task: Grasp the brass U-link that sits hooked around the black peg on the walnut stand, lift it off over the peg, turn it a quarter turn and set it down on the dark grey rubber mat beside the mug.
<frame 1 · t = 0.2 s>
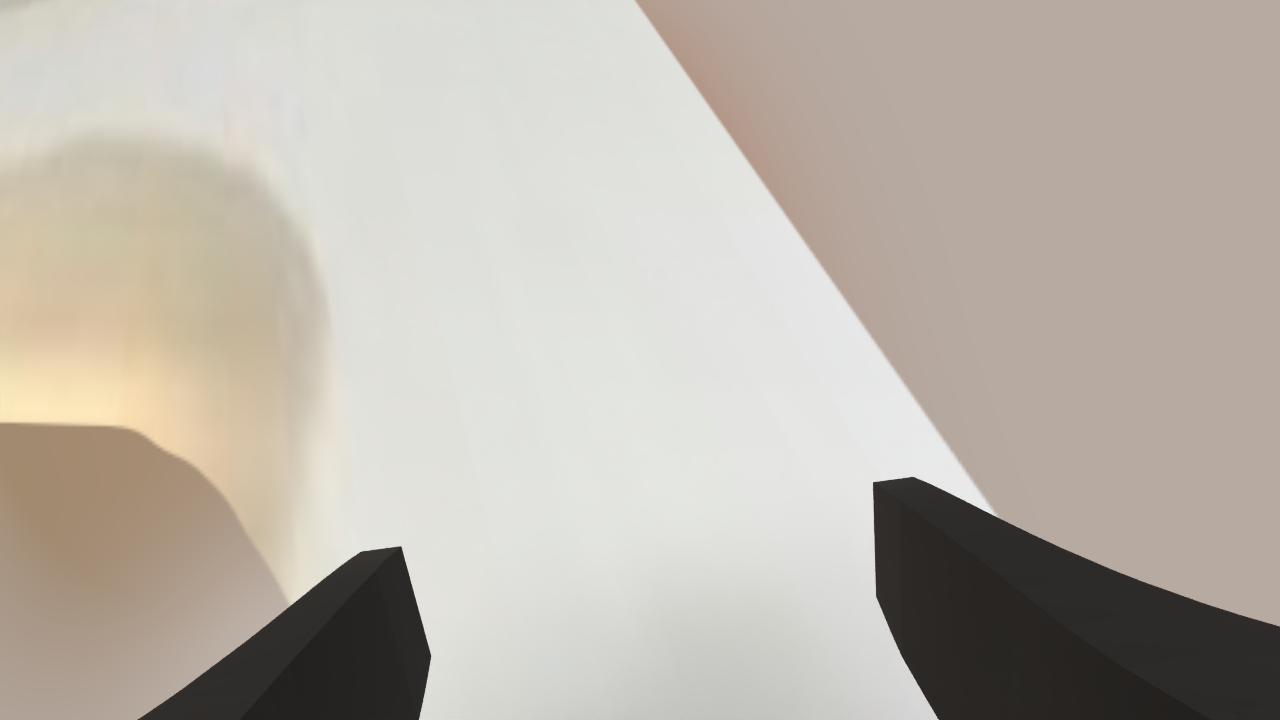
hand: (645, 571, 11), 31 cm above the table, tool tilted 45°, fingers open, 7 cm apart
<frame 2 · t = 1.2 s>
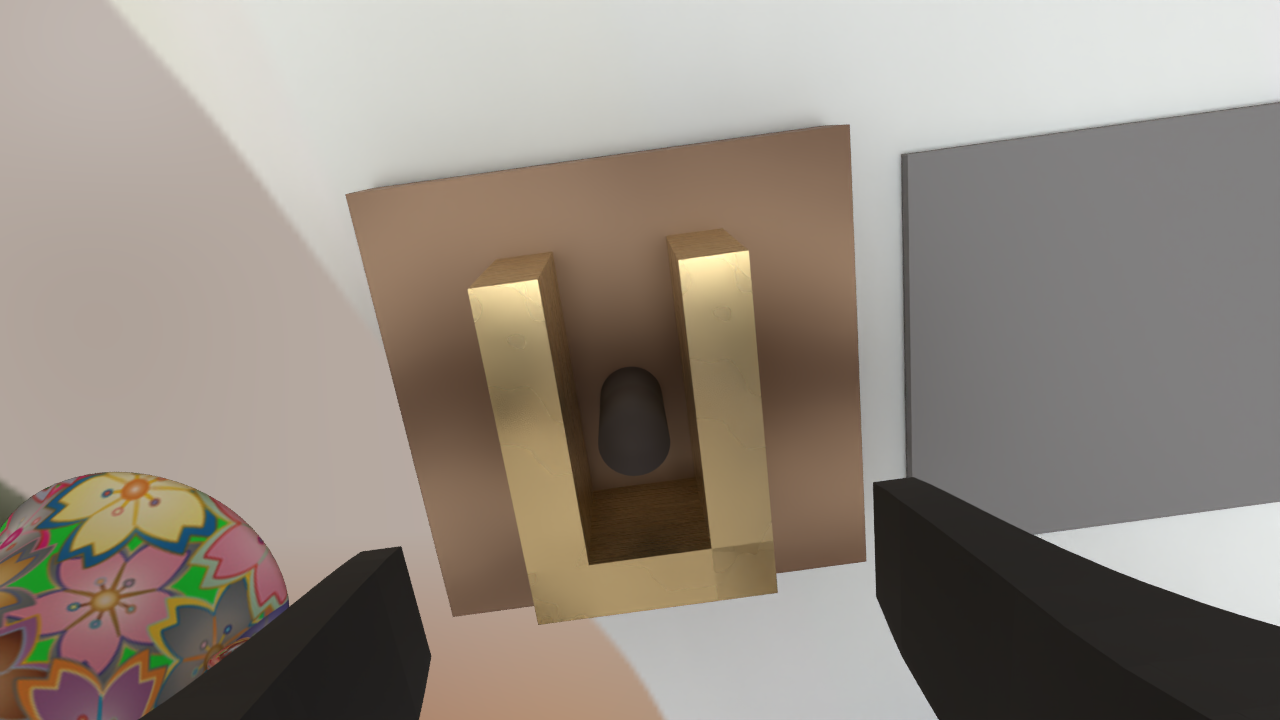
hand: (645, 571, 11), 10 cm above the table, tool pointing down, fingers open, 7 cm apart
peg stand: (629, 371, 20), on the table
u link: (631, 395, 18), point 2 cm above the table, touching peg stand
mat: (1109, 338, 21), on the table
mug: (210, 577, 22), on the table
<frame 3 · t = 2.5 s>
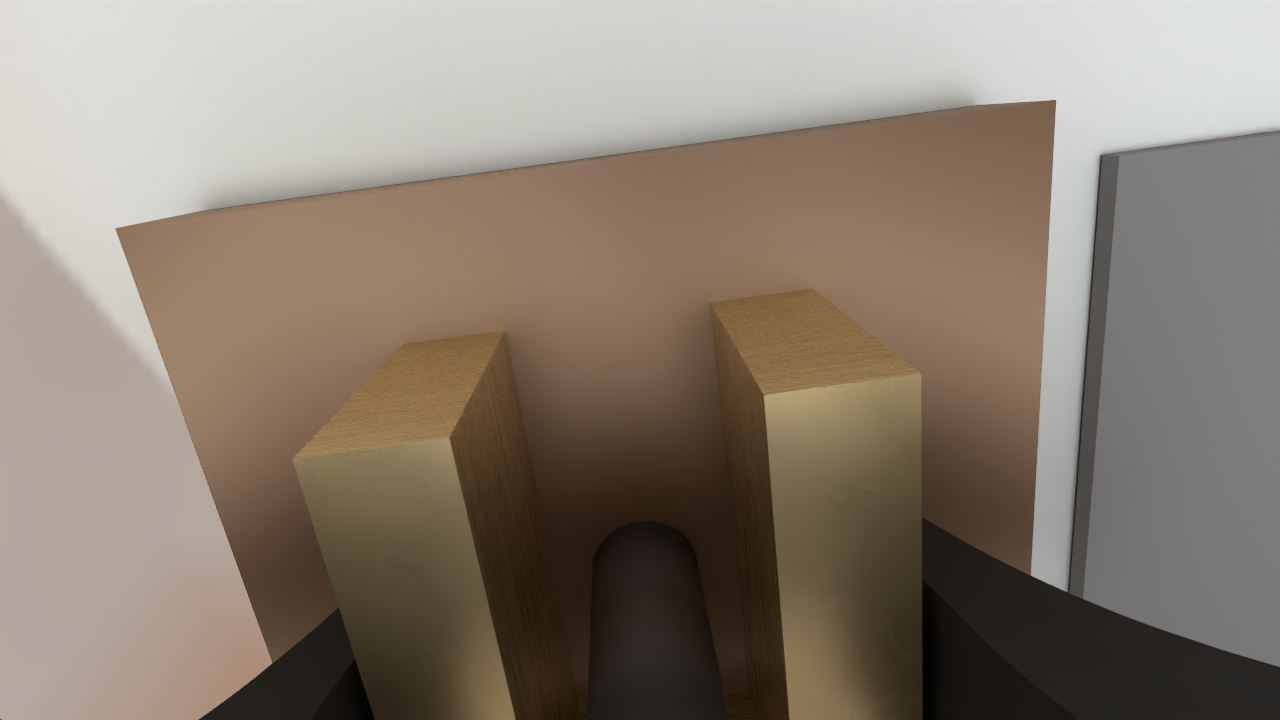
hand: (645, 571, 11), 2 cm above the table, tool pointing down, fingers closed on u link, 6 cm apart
peg stand: (639, 501, 13), on the table
u link: (644, 567, 11), point 2 cm above the table, touching gripper, peg stand
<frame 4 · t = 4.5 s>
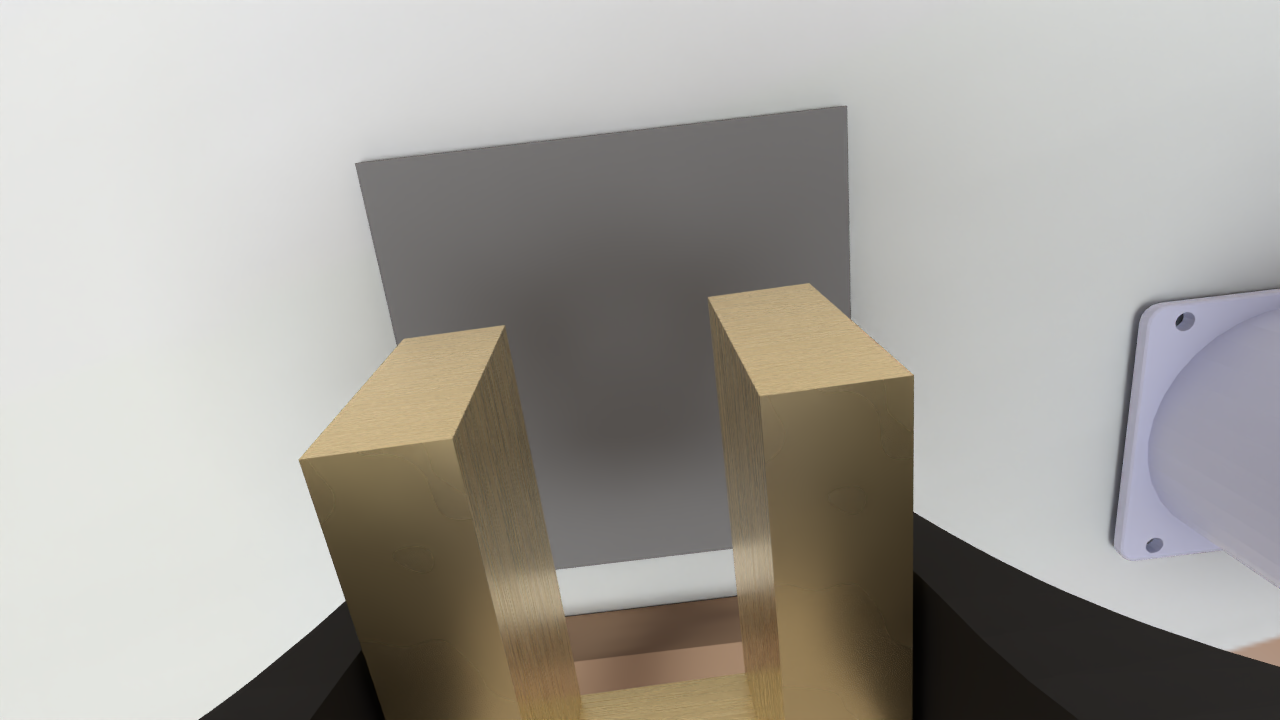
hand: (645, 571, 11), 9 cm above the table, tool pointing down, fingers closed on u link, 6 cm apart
u link: (643, 555, 11), point 9 cm above the table, touching gripper
mat: (629, 362, 19), on the table
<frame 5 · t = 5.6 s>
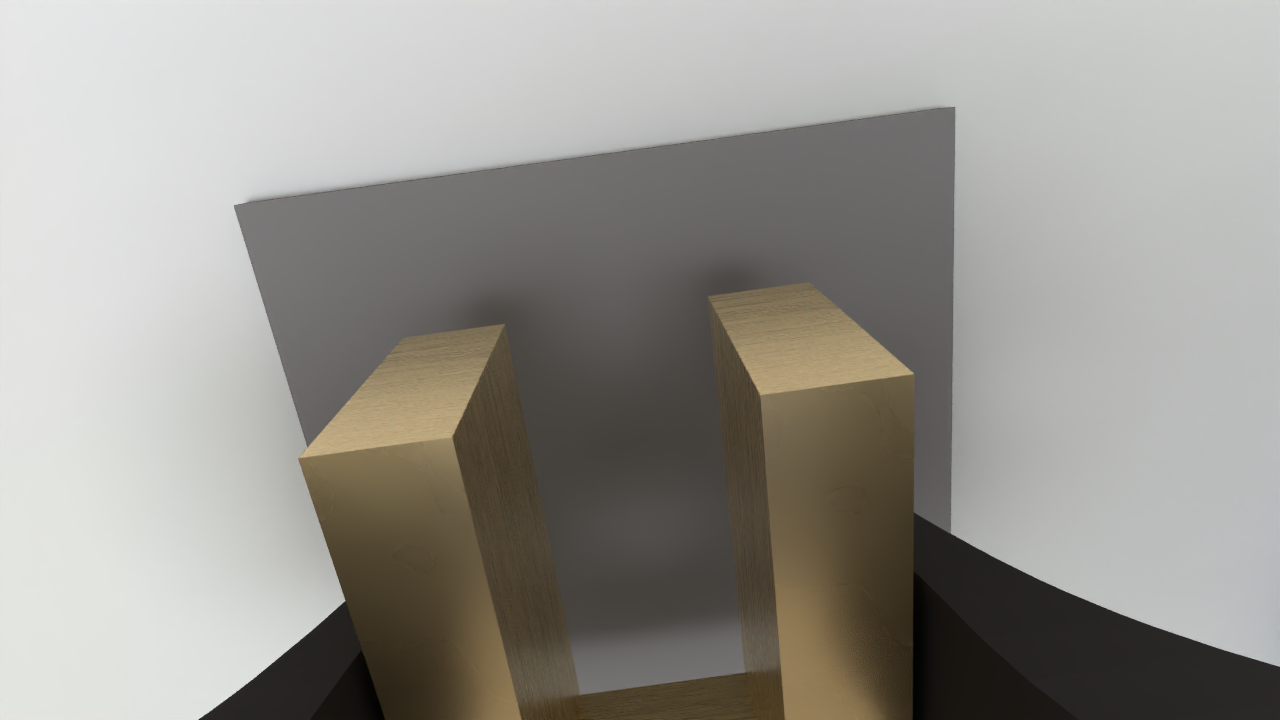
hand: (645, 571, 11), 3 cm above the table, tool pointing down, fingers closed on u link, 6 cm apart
u link: (643, 554, 11), point 3 cm above the table, touching gripper
mat: (639, 470, 14), on the table
when the fingers open (2 cm above the table, at t = 6.5 s): u link drops 1 cm, resting on mat.
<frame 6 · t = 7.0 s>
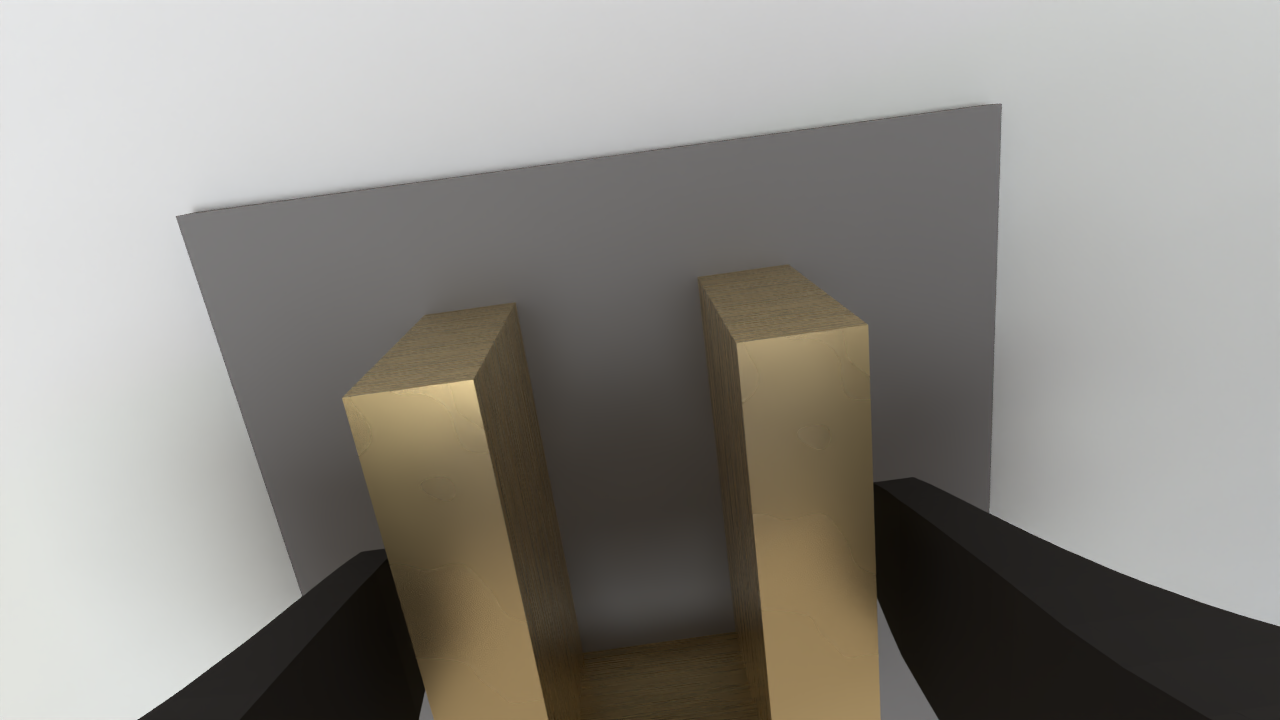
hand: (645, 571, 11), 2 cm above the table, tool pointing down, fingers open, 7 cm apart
u link: (640, 517, 12), resting on mat
mat: (640, 510, 12), on the table
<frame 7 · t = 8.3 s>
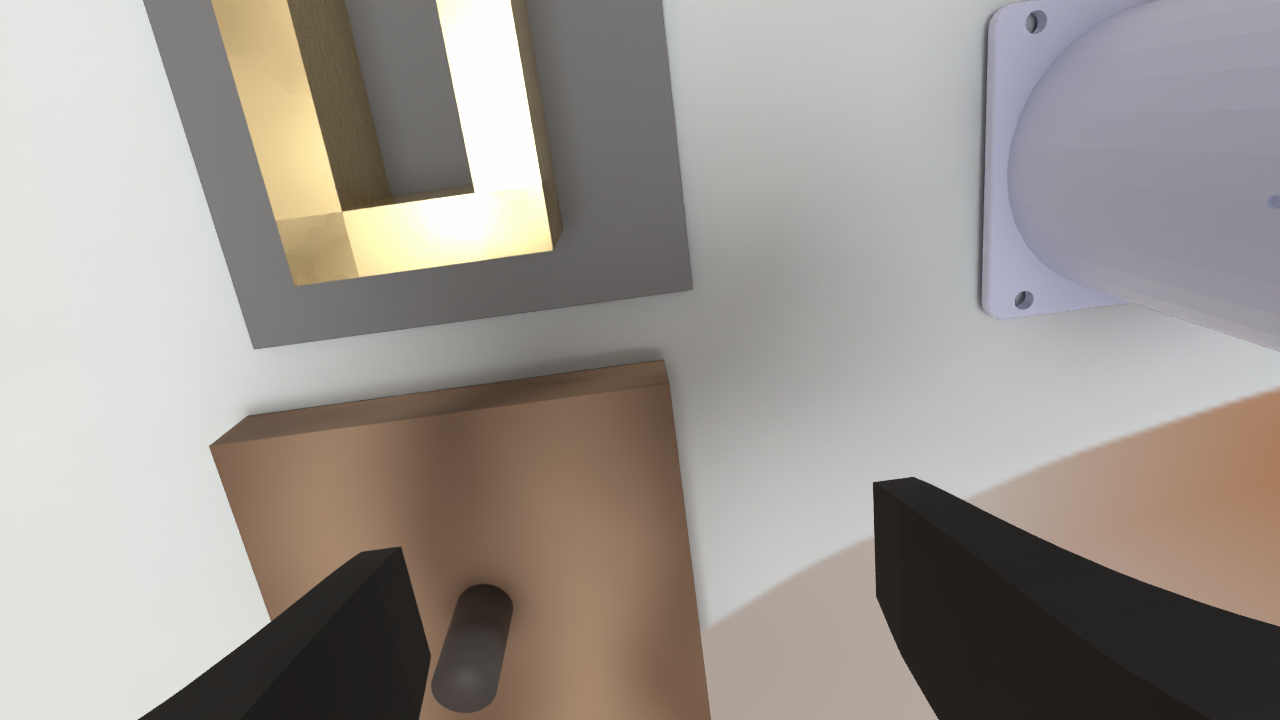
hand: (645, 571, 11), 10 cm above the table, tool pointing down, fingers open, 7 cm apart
peg stand: (495, 566, 22), on the table
u link: (422, 80, 17), resting on mat
mat: (427, 85, 18), on the table
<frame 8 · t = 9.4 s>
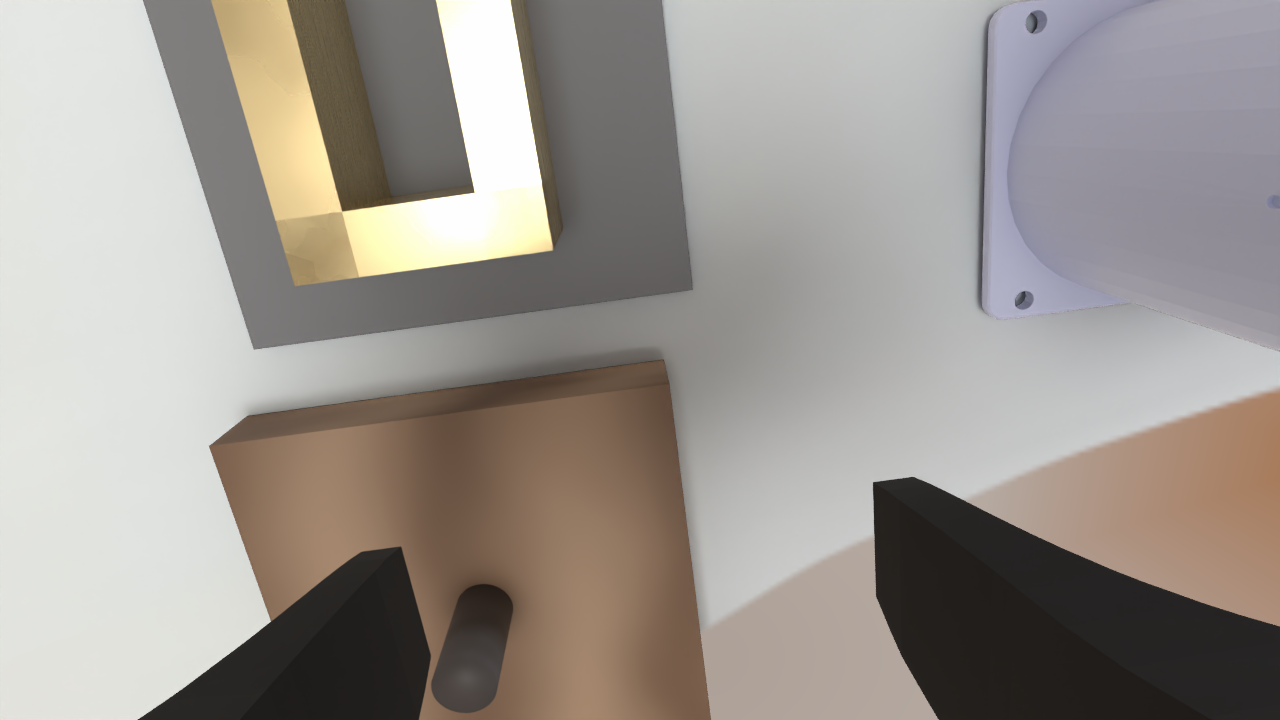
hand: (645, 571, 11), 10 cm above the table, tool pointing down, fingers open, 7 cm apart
peg stand: (495, 566, 22), on the table
u link: (422, 80, 17), resting on mat
mat: (427, 85, 18), on the table
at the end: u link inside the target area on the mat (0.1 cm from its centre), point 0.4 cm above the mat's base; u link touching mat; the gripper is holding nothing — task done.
